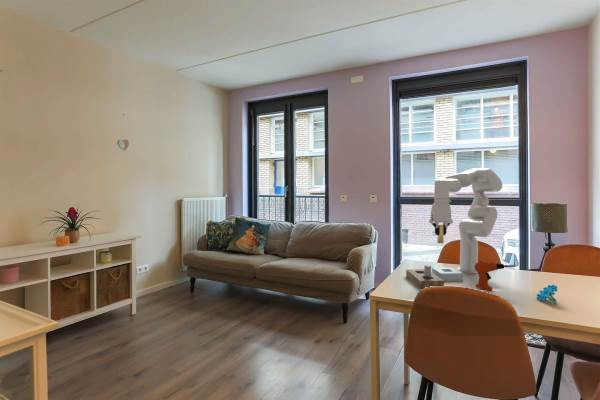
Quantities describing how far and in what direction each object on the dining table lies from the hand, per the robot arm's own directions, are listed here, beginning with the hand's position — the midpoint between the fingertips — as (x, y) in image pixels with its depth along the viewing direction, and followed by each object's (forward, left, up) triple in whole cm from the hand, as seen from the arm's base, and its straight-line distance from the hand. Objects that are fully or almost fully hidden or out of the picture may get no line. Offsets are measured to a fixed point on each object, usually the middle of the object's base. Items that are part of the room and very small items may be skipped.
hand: (440, 234), depth 190 cm
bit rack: (+12, +7, -26) cm, 29 cm away
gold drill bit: (0, 0, -5) cm, 5 cm away
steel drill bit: (+12, +12, -25) cm, 30 cm away
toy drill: (-19, +19, -26) cm, 37 cm away
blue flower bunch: (-35, +34, -26) cm, 56 cm away
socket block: (-4, -1, -26) cm, 26 cm away
